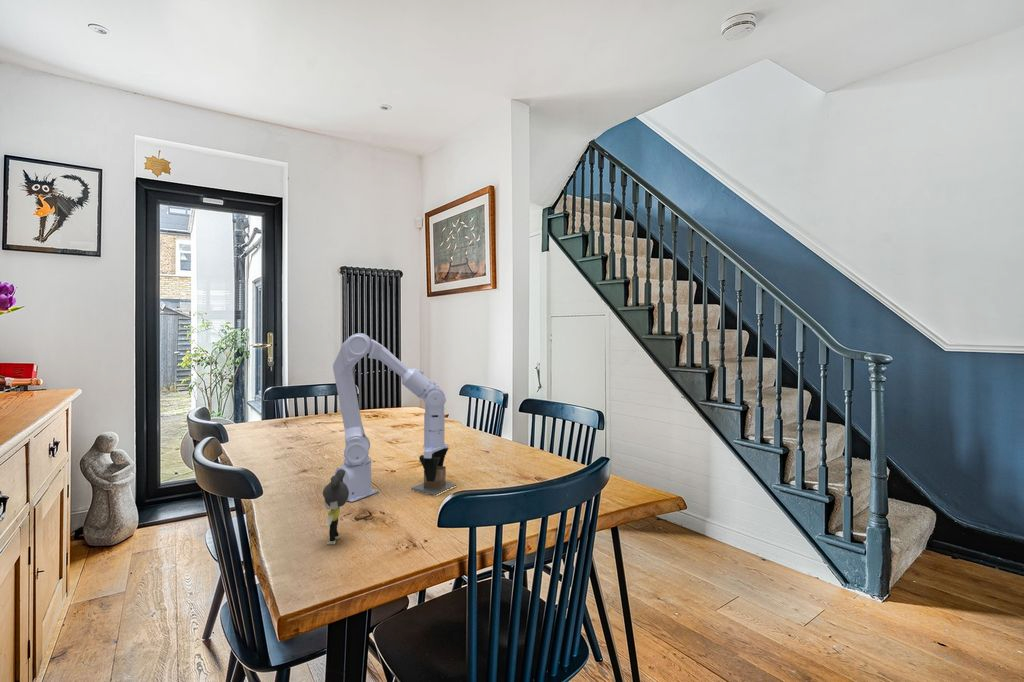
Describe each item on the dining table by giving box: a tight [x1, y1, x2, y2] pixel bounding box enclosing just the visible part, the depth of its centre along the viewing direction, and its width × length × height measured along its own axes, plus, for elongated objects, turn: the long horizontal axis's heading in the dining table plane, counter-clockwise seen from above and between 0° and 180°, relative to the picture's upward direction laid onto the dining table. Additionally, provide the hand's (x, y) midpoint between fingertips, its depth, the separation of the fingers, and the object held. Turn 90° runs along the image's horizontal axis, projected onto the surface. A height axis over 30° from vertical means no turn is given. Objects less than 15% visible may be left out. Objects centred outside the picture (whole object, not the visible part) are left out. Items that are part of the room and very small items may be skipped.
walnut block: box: [423, 465, 447, 489], centre depth 142 cm, size 5×5×5 cm
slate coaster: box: [411, 481, 458, 496], centre depth 142 cm, size 9×9×1 cm
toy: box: [322, 469, 349, 545], centre depth 108 cm, size 8×5×15 cm, turn 4°
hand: (434, 476), depth 142 cm, fingers open, 7 cm apart
